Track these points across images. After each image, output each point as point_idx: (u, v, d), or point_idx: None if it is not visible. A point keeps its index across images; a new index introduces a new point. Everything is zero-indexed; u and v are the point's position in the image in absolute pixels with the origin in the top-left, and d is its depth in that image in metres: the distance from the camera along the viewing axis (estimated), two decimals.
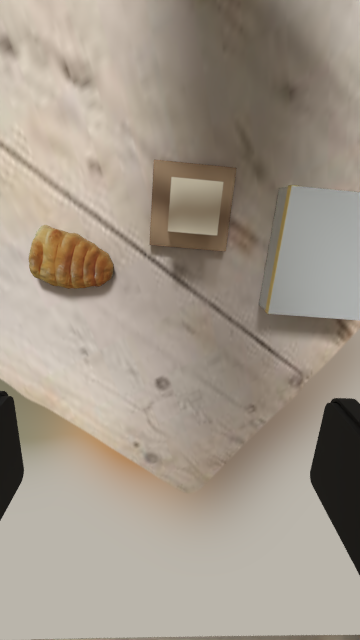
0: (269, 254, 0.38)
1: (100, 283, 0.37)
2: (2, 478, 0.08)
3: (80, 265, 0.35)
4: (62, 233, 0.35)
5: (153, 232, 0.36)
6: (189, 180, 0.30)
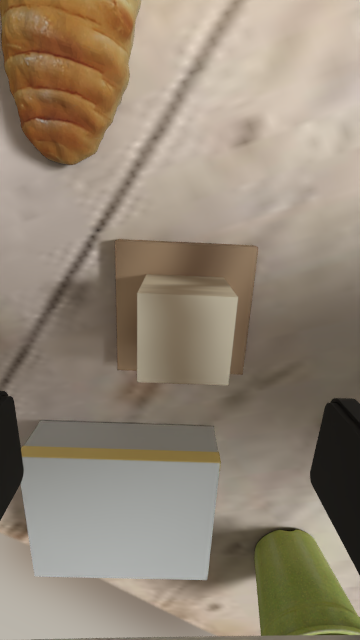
0: (120, 428, 0.25)
1: (27, 132, 0.17)
2: (2, 478, 0.08)
3: (56, 82, 0.15)
4: (125, 41, 0.16)
5: (137, 248, 0.20)
6: (231, 329, 0.16)
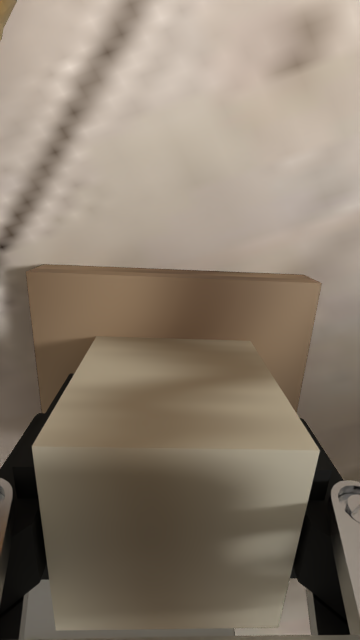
0: None
1: None
2: None
3: None
4: None
5: (75, 286, 0.09)
6: (293, 523, 0.06)
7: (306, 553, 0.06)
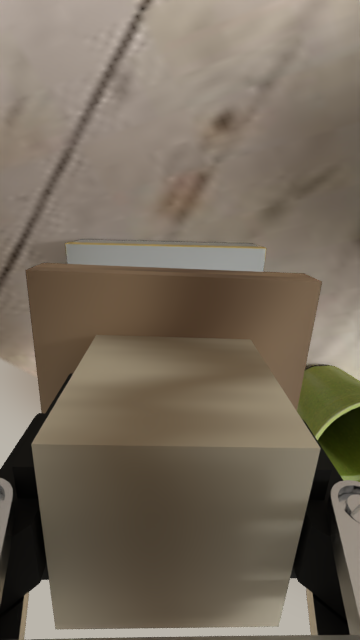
0: (161, 242, 0.25)
1: None
2: None
3: None
4: None
5: (75, 284, 0.09)
6: (293, 521, 0.06)
7: (306, 553, 0.06)
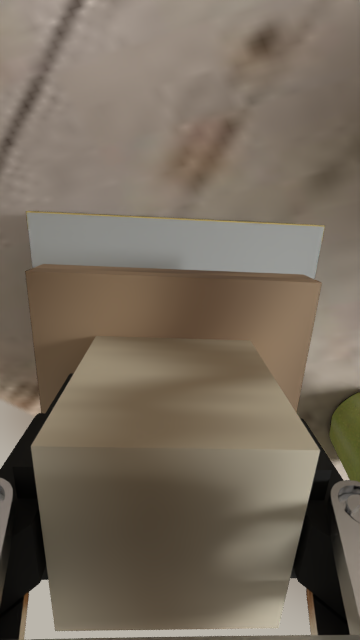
0: None
1: None
2: None
3: None
4: None
5: (74, 285, 0.09)
6: (293, 522, 0.06)
7: (306, 553, 0.06)
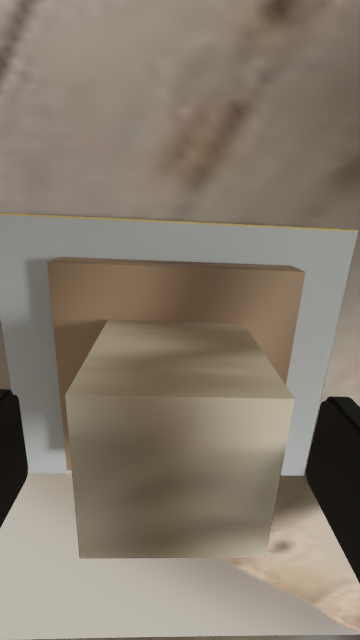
0: (164, 220, 0.15)
1: None
2: (7, 475, 0.08)
3: None
4: None
5: (90, 275, 0.11)
6: (275, 462, 0.07)
7: None
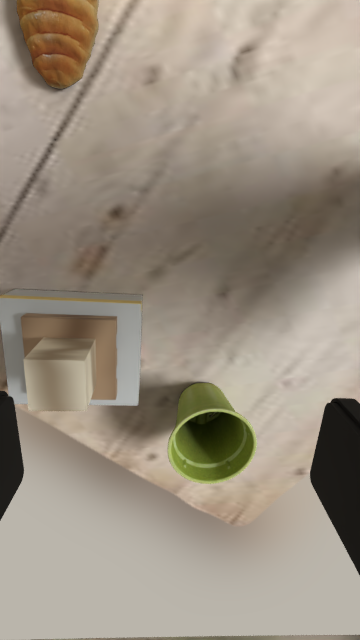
0: (73, 293, 0.34)
1: (37, 65, 0.27)
2: (2, 478, 0.08)
3: (54, 28, 0.25)
4: (94, 1, 0.26)
5: (36, 321, 0.30)
6: (83, 379, 0.27)
7: None
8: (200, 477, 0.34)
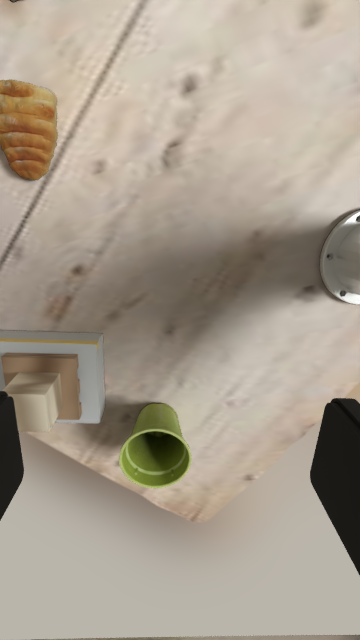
0: (46, 333, 0.43)
1: (12, 167, 0.35)
2: (2, 478, 0.08)
3: (22, 143, 0.33)
4: (51, 119, 0.34)
5: (13, 360, 0.39)
6: (44, 408, 0.35)
7: None
8: (148, 483, 0.42)
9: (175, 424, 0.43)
